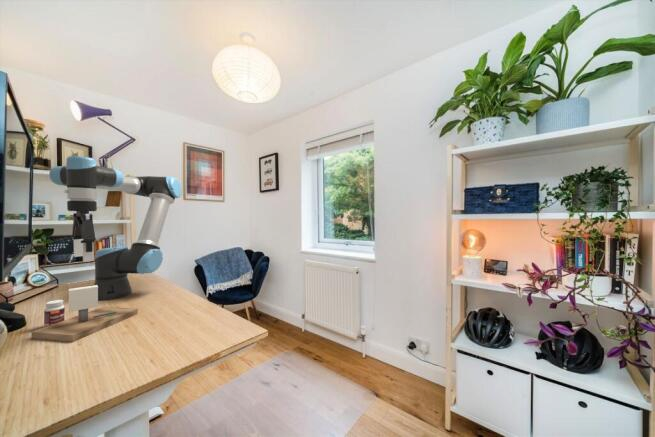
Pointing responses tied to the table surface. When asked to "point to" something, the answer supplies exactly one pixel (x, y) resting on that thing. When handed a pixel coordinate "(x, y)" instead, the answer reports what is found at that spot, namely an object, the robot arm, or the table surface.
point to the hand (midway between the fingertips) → (83, 258)
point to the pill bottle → (54, 312)
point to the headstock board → (83, 324)
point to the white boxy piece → (84, 301)
